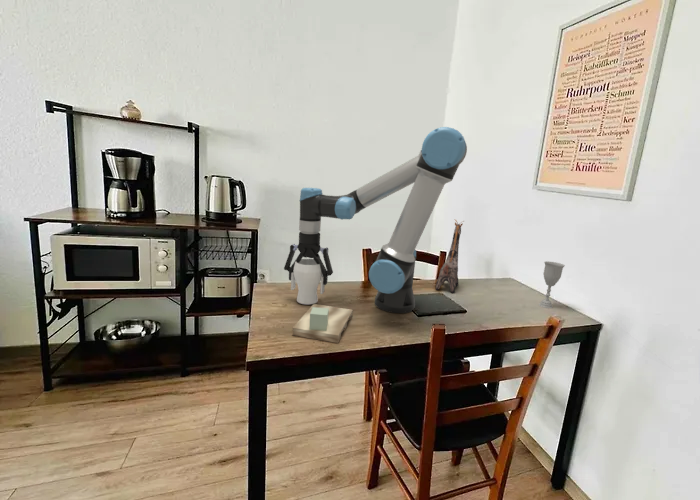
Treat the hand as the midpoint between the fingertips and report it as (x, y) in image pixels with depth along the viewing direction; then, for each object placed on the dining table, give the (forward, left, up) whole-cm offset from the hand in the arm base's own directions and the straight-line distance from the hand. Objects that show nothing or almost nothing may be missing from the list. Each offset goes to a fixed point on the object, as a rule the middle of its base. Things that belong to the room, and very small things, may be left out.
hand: (307, 290), depth 131 cm
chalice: (-92, -33, -4) cm, 98 cm away
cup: (0, 0, -4) cm, 4 cm away
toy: (-53, -41, -5) cm, 67 cm away
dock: (-12, +17, -4) cm, 21 cm away
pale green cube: (-12, +23, -2) cm, 26 cm away
